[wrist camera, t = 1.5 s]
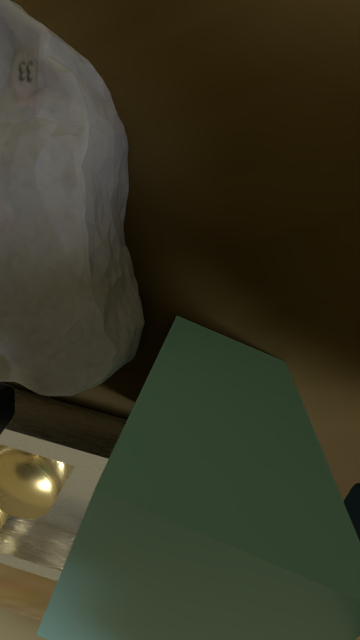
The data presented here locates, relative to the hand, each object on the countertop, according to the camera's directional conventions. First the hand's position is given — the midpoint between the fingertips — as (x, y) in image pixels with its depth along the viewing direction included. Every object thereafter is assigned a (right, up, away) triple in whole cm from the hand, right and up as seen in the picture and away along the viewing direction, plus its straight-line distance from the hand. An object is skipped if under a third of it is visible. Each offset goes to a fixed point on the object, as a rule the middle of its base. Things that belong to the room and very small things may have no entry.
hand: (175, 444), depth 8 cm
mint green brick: (+1, +1, +4) cm, 4 cm away
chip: (-6, -3, +5) cm, 8 cm away
